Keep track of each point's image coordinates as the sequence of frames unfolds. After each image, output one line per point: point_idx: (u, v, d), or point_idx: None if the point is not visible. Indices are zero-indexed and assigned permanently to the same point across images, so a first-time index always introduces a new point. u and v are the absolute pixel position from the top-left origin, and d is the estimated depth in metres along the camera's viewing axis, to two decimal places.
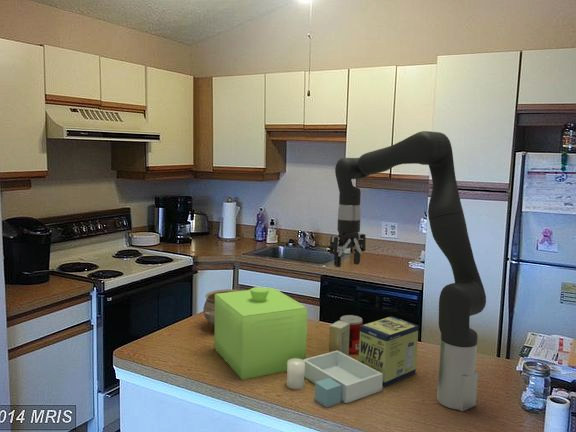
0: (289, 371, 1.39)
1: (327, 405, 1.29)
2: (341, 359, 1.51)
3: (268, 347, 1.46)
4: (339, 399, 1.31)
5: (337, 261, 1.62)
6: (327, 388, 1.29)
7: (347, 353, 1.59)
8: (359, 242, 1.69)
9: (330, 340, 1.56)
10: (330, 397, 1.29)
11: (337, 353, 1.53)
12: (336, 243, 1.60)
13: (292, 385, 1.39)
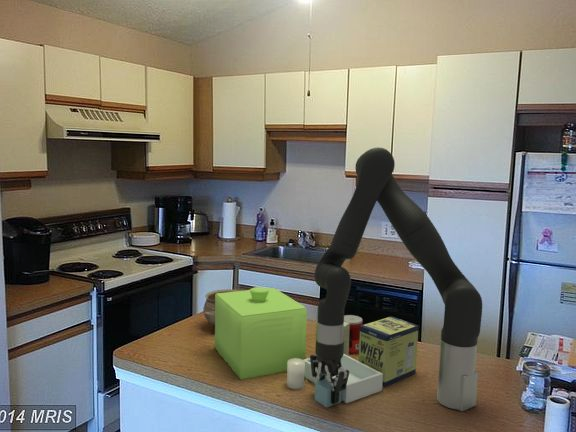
0: (289, 371, 1.39)
1: (327, 405, 1.29)
2: (341, 359, 1.51)
3: (267, 347, 1.46)
4: (339, 399, 1.31)
5: None
6: (327, 387, 1.29)
7: (347, 353, 1.59)
8: (315, 366, 1.35)
9: None
10: (330, 397, 1.29)
11: None
12: None
13: (292, 385, 1.39)
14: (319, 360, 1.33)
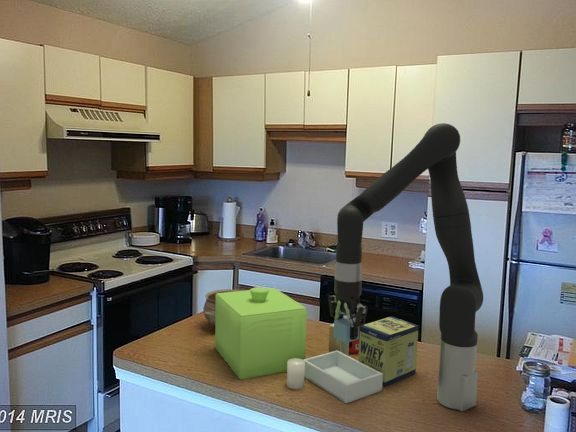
0: (289, 371, 1.39)
1: (346, 340, 1.36)
2: (341, 359, 1.51)
3: (266, 347, 1.46)
4: None
5: None
6: (346, 324, 1.36)
7: (347, 353, 1.59)
8: (333, 306, 1.42)
9: (330, 340, 1.56)
10: (349, 333, 1.36)
11: (337, 353, 1.53)
12: None
13: (292, 385, 1.39)
14: (338, 300, 1.39)
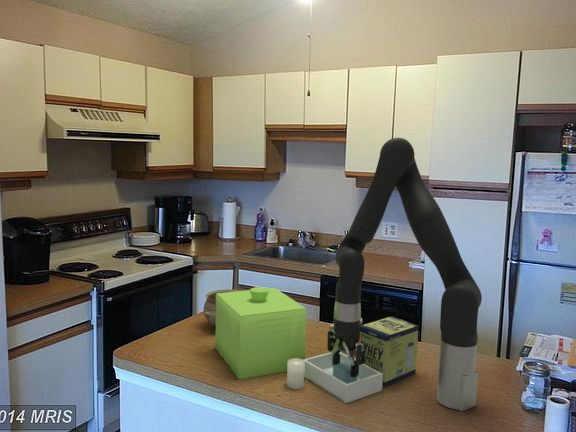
0: (289, 371, 1.39)
1: None
2: (341, 359, 1.51)
3: (266, 347, 1.46)
4: None
5: None
6: (345, 370, 1.38)
7: None
8: (331, 341, 1.44)
9: None
10: (347, 379, 1.38)
11: None
12: None
13: (292, 385, 1.39)
14: (337, 336, 1.41)
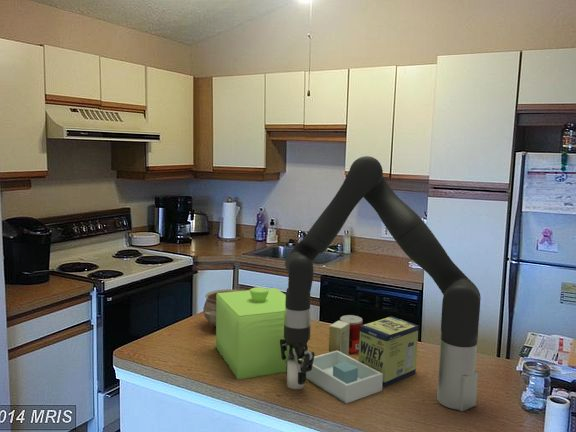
0: (289, 371, 1.39)
1: None
2: (341, 359, 1.51)
3: (265, 347, 1.46)
4: None
5: None
6: (345, 370, 1.38)
7: (347, 353, 1.59)
8: (284, 349, 1.44)
9: (330, 340, 1.56)
10: (347, 379, 1.38)
11: (337, 353, 1.53)
12: None
13: (292, 385, 1.39)
14: (288, 343, 1.41)
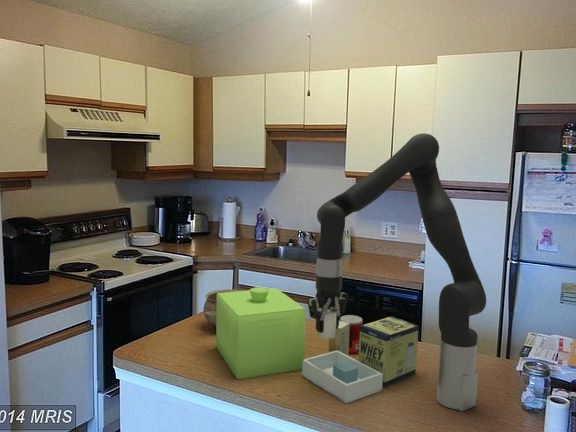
0: (333, 321, 1.41)
1: None
2: (341, 359, 1.51)
3: (264, 347, 1.46)
4: None
5: None
6: (345, 370, 1.38)
7: (347, 353, 1.59)
8: None
9: (330, 340, 1.56)
10: (347, 379, 1.38)
11: (337, 353, 1.53)
12: None
13: (335, 333, 1.42)
14: (323, 299, 1.39)
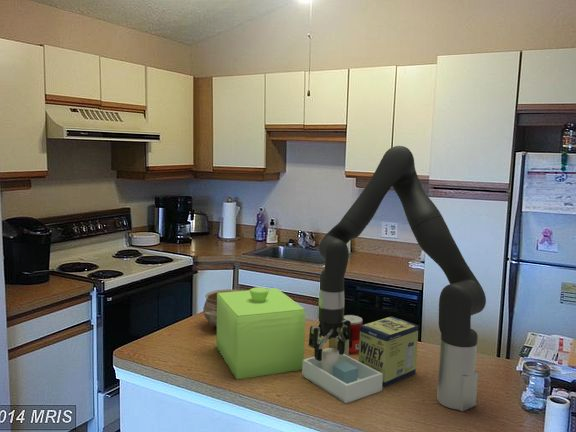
0: (336, 360, 1.45)
1: None
2: (341, 359, 1.51)
3: (264, 348, 1.45)
4: None
5: None
6: (345, 370, 1.38)
7: (347, 353, 1.59)
8: None
9: (330, 340, 1.56)
10: (347, 379, 1.38)
11: None
12: None
13: None
14: (326, 328, 1.43)
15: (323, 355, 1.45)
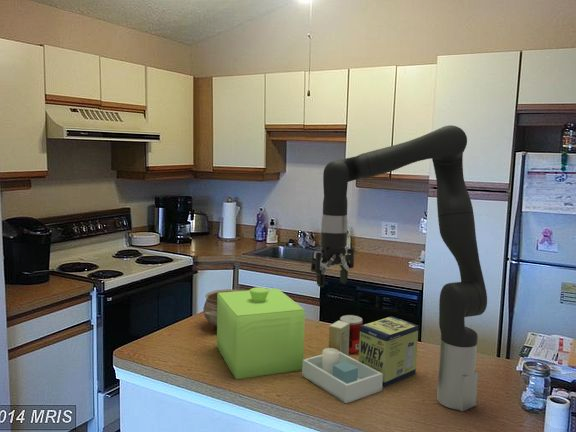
0: (336, 361, 1.45)
1: None
2: (341, 359, 1.51)
3: (263, 348, 1.45)
4: None
5: None
6: (345, 370, 1.38)
7: (347, 353, 1.59)
8: None
9: (330, 340, 1.56)
10: (347, 379, 1.38)
11: None
12: None
13: None
14: (329, 253, 1.40)
15: (324, 355, 1.45)
